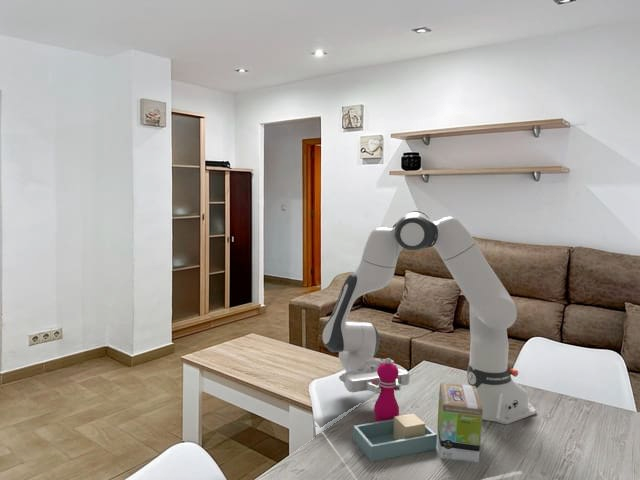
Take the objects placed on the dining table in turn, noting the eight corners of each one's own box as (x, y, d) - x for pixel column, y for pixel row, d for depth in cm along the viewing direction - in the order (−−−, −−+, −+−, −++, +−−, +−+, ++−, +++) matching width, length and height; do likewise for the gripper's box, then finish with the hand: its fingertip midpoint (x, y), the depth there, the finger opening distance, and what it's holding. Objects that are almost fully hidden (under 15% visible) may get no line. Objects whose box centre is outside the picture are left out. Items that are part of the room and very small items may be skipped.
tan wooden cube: (412, 434, 131) (413, 413, 130) (424, 445, 125) (425, 423, 125) (393, 437, 129) (394, 416, 128) (404, 448, 123) (405, 427, 123)
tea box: (480, 465, 118) (483, 408, 116) (438, 460, 120) (441, 404, 118) (473, 435, 132) (476, 384, 131) (436, 430, 134) (438, 380, 133)
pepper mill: (372, 418, 141) (374, 353, 139) (396, 419, 141) (399, 354, 139) (374, 430, 134) (376, 362, 132) (400, 431, 133) (402, 363, 131)
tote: (414, 430, 134) (414, 415, 134) (436, 450, 124) (437, 434, 123) (352, 441, 128) (353, 425, 127) (370, 464, 117) (371, 446, 117)
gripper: (337, 365, 144) (355, 383, 131) (396, 358, 151) (419, 374, 138) (336, 385, 145) (355, 405, 132) (395, 377, 152) (418, 395, 139)
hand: (388, 389), depth 135 cm, fingers closed on pepper mill, 5 cm apart
